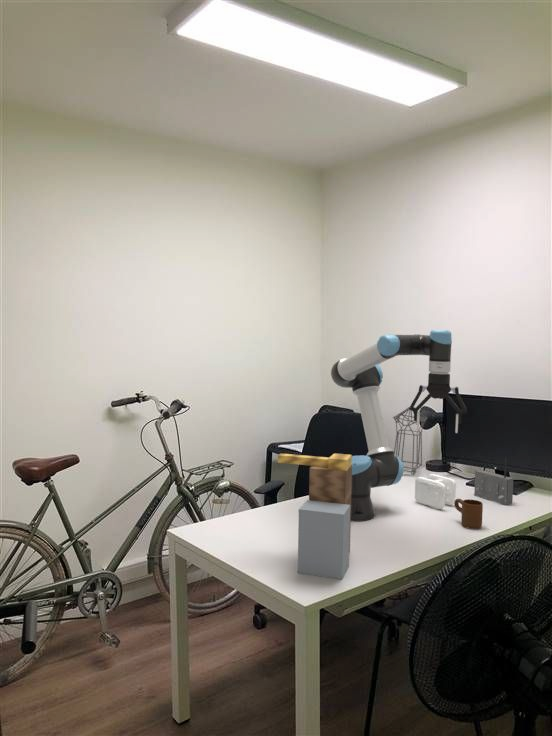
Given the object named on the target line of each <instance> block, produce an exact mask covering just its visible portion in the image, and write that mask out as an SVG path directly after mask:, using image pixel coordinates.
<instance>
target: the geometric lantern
mask: <svg viewBox="0 0 552 736" xmlns="http://www.w3.org/2000/svg"><path fill="white" fill-rule="evenodd" d="M409 407H410V406H408V407H407V408H406V409H404V410H402V411H401V412H399V413H398V414H396V415H394V416H392V419H393V420H394V422H395V431H396V435H395V442H394V449H393V451H394V455H395V456H397V457H399V456H400V449H401V457H399V458H401V459H400V460H401V461H402V463H410V464H412V465H411V466H410V467H409V466H404V465H403V472H406V473H407V472H408V473H410V475H413V476H414V475H415V474H416V471H417V469H418V468H420V467H421V466H422V465H423V456H422V455H423V454H422V453H423V451H422V450H423V446H422V445H423V443H422V442H423V441H422V435H423V433H422V432H423V429H424V426H425V423H426V422H427V419H428V417H427V416H426V415H425V414H423V413H421V412H420V418H419V422H421V423H420V425H419V430H413V429H412V428H411V426H412V425H414V424H415V425H416V426H417V421H414V415H413V414H414V411H412V410H409ZM407 414H408V415H407ZM401 416H403V417H402V418H401ZM410 418H411V419H410ZM400 420H401V421H400ZM404 421H405V422H407V424H404ZM398 425H399V427H400V429H399V430H398ZM403 427H405V428H404V429H403ZM408 427H409V429H407V428H408ZM406 431H407V432H411V433H412V434H411V433H406ZM414 432H416V434H415V433H414ZM399 435H400V437H399ZM402 435H403V440H402ZM406 435H409V436H413V437H412V461H407V460H403V458H404V447H405V436H406ZM415 436H416V462H414V461H415V460H414V457H415ZM401 440H402V441H401ZM401 442H402V448H400V447H401ZM414 464H416V465H415V466H414ZM404 468H405V469H410V470H405V469H404ZM406 473H404V474H405V475H404V476H408V474H406ZM414 473H415V474H414Z"/></svg>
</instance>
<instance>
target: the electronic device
mask: <svg viewBox="0 0 552 736" xmlns="http://www.w3.org/2000/svg"><path fill="white" fill-rule="evenodd" d="M507 460H508V459H507V458H504V474H503V475H502V474H498V473H496V472H494V473H493V472H490V471H487V470H482V469H478V470H475V472H474V495H473V496H475V497H478V496H479V497H478V498H481V499H484V500H488V501H492V502H495V503H497V504H502V505H504V506H510V504H511V505H513V497H514V494H513V493H514V478H513V477H510V476H507V462H508V461H507Z"/></svg>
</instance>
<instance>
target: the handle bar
mask: <svg viewBox="0 0 552 736" xmlns="http://www.w3.org/2000/svg"><path fill="white" fill-rule="evenodd" d="M352 456H353V455H352V454H346V453H345V454H344V453H333V454H332V455H330V456H329V457H326V456H315V455H314V456H313V455H303V454H292V453H291V454H290V453H279V454H278V455H277V463H278V464H290V465H302V466H309V467H311V466H321V467H328V469H332V470H343V471H347V470H348V469H349V468H350V466H351V463H352Z"/></svg>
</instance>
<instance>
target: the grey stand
mask: <svg viewBox="0 0 552 736" xmlns="http://www.w3.org/2000/svg"><path fill="white" fill-rule="evenodd" d="M297 530H298V533H297V534H298V539H297V541H298V542H297V543H298V544H297V573H298V574H304V575H309V576H310V575H311V576H318V577H325V578H331V579H338V580H343V579H344V577H345V574H346V573H347V571H348V569H349V568H350V553H349V539H350V540H351V530H350V505H347V504H338V503H329V502H320V501H311V500H309V499H307V500H306V501H305V502H304V503H303V504H302V505H301V506H300V508H298V529H297Z"/></svg>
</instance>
